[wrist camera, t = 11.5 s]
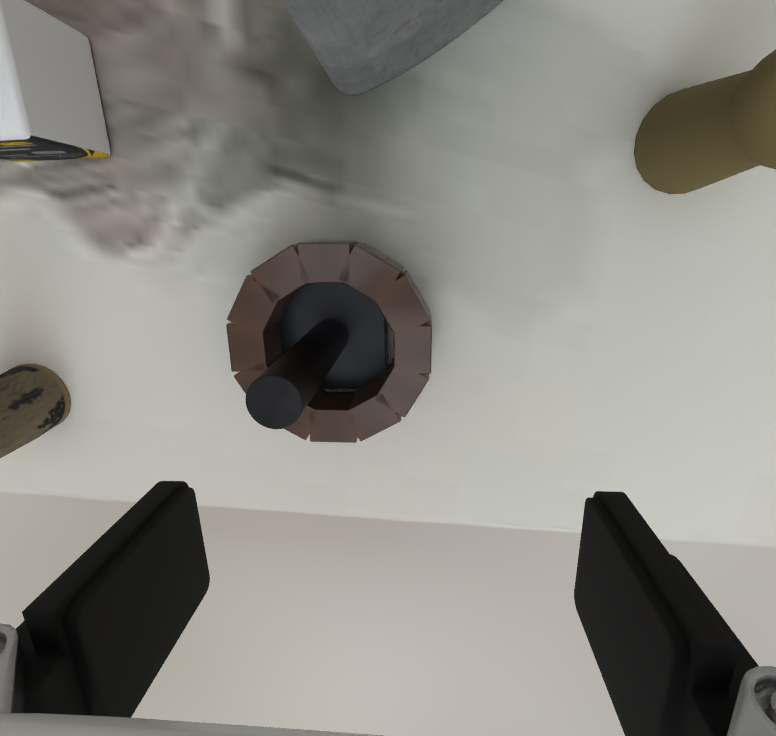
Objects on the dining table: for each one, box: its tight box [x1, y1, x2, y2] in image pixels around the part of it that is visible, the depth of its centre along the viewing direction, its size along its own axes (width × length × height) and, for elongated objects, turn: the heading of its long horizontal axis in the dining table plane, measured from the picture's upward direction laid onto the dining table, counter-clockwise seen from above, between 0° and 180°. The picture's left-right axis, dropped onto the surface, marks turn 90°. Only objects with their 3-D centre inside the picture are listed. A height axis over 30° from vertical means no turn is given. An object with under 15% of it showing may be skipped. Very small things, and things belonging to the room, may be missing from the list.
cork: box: [634, 50, 776, 194], centre depth 23 cm, size 6×6×11 cm
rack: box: [246, 283, 388, 429], centre depth 27 cm, size 8×8×14 cm
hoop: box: [226, 241, 432, 443], centre depth 31 cm, size 13×13×4 cm
